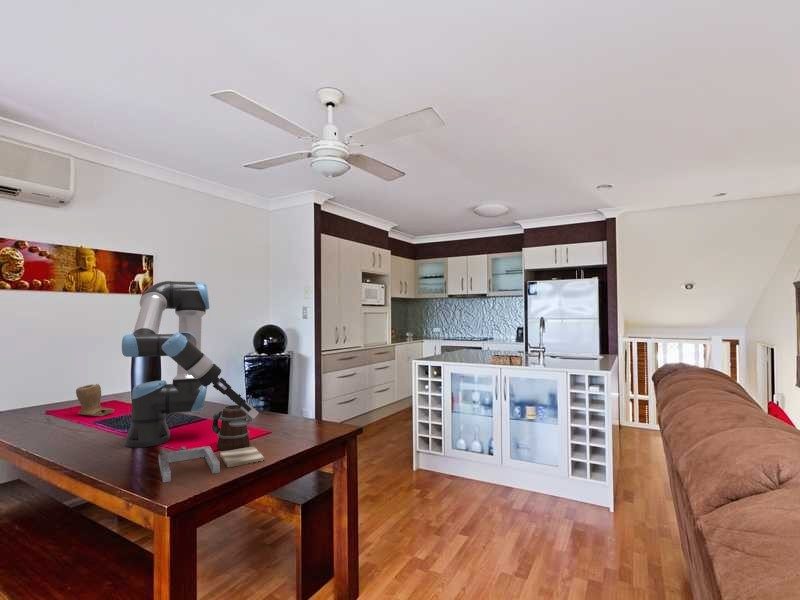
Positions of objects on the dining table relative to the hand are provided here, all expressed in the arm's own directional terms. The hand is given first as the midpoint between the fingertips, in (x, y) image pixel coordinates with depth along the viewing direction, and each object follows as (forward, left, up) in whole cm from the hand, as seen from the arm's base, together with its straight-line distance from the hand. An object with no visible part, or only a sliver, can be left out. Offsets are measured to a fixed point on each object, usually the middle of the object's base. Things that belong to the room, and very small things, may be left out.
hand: (253, 413), depth 152 cm
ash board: (-1, -3, -15) cm, 16 cm away
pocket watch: (0, -4, -4) cm, 5 cm away
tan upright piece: (-101, -51, -16) cm, 115 cm away
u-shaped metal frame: (-4, -20, -15) cm, 26 cm away
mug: (-18, -4, -16) cm, 25 cm away
